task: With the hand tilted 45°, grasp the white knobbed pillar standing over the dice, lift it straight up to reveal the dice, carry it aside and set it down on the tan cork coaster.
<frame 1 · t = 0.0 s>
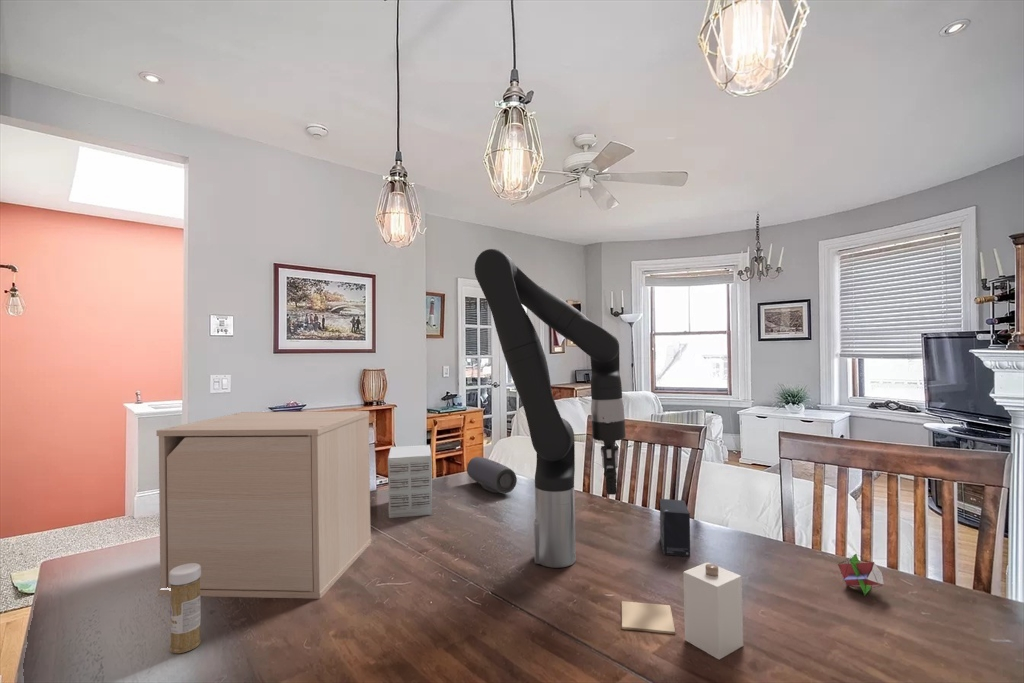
hand: (611, 488, 115), 17 cm above the table, tool pointing down, fingers open, 8 cm apart
sprinkles bottle: (186, 647, 85), on the table
cabinet: (276, 567, 117), on the table
bluetooth speaker: (491, 489, 177), on the table
geometric puzzle: (860, 591, 100), on the table
supplement box: (410, 508, 158), on the table
white knobbed pillar: (713, 642, 84), on the table
small box: (675, 548, 123), on the table
dice: (715, 643, 84), on the table
coaster: (646, 617, 92), on the table
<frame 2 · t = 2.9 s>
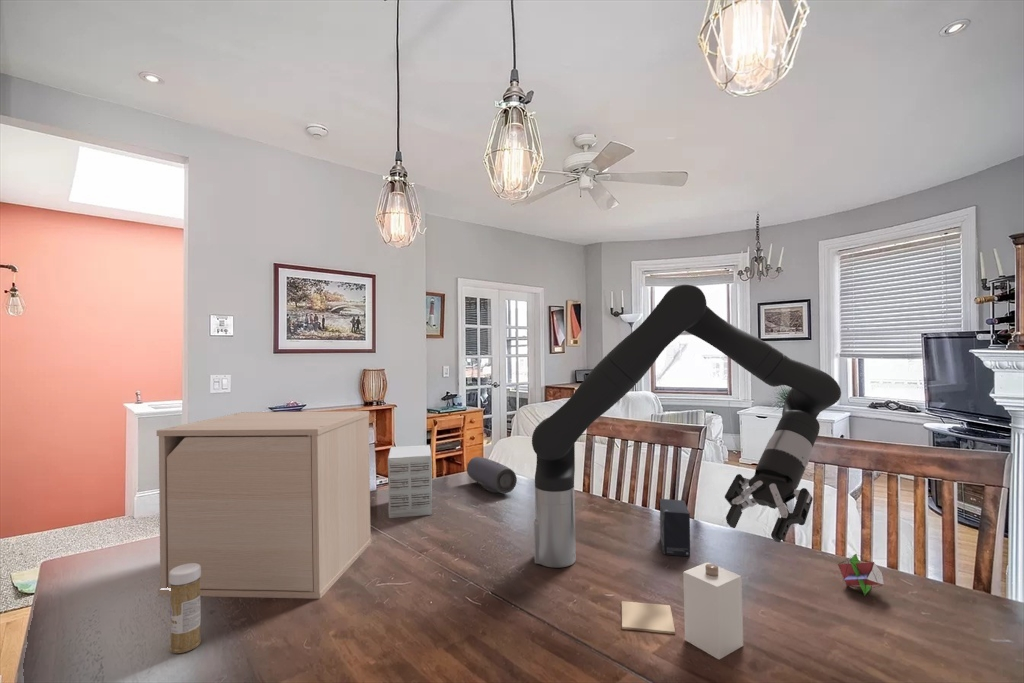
hand: (751, 532, 90), 16 cm above the table, tool tilted 45°, fingers open, 8 cm apart
nothing on the table moved.
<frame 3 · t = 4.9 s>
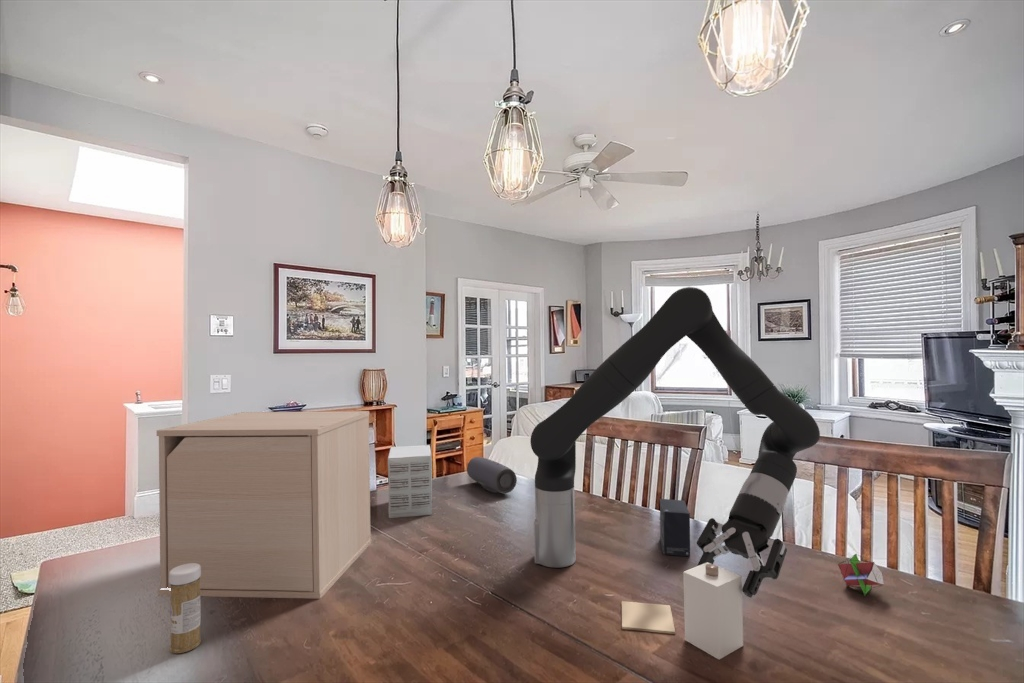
hand: (723, 584, 85), 9 cm above the table, tool tilted 45°, fingers open, 8 cm apart
nothing on the table moved.
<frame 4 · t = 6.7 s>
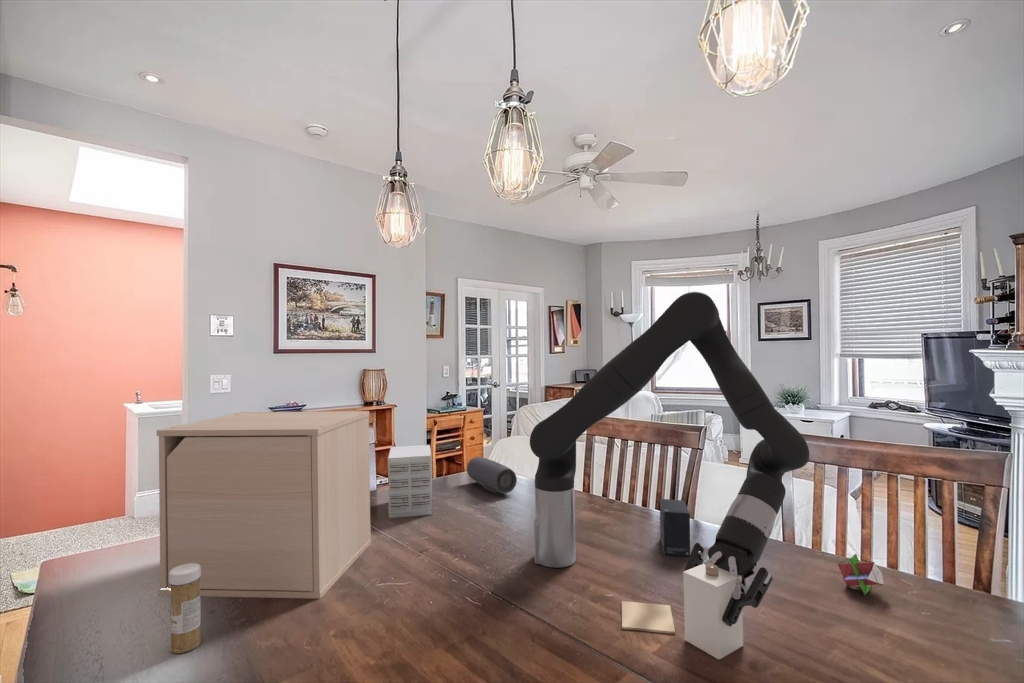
hand: (707, 613, 83), 5 cm above the table, tool tilted 45°, fingers closed on white knobbed pillar, 6 cm apart
white knobbed pillar: (713, 642, 83), on the table, touching gripper
everything else where it was.
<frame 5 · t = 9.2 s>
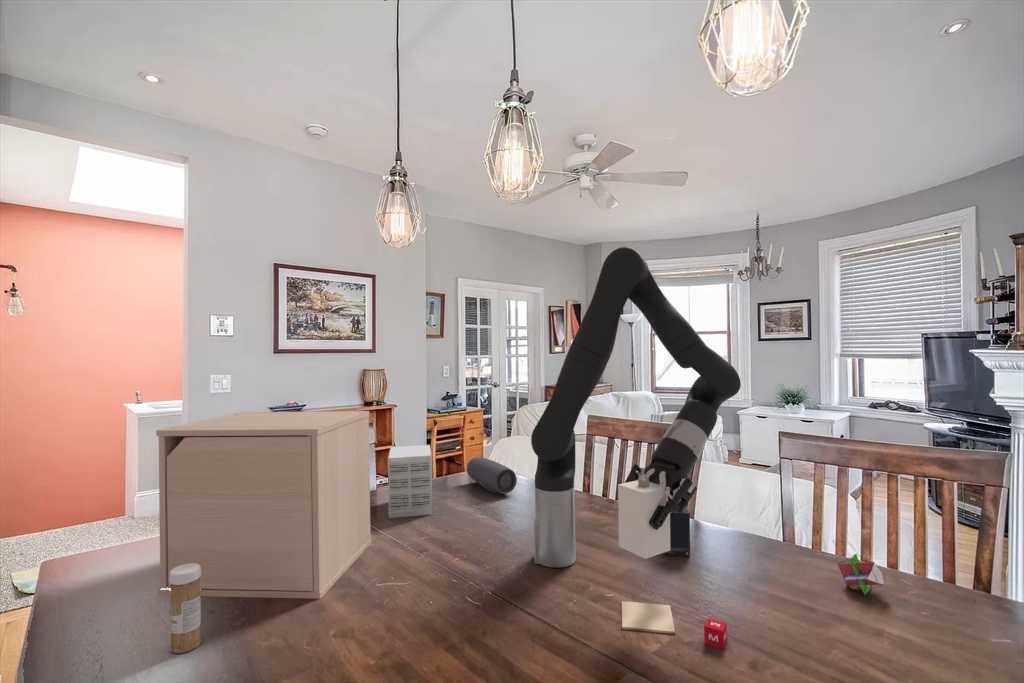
hand: (637, 520, 91), 18 cm above the table, tool tilted 45°, fingers closed on white knobbed pillar, 6 cm apart
white knobbed pillar: (644, 548, 92), point 13 cm above the table, touching gripper
everything else where it was.
when the fingers open (7 cm above the table, at t = 11.9 s): white knobbed pillar drops 2 cm, resting on coaster.
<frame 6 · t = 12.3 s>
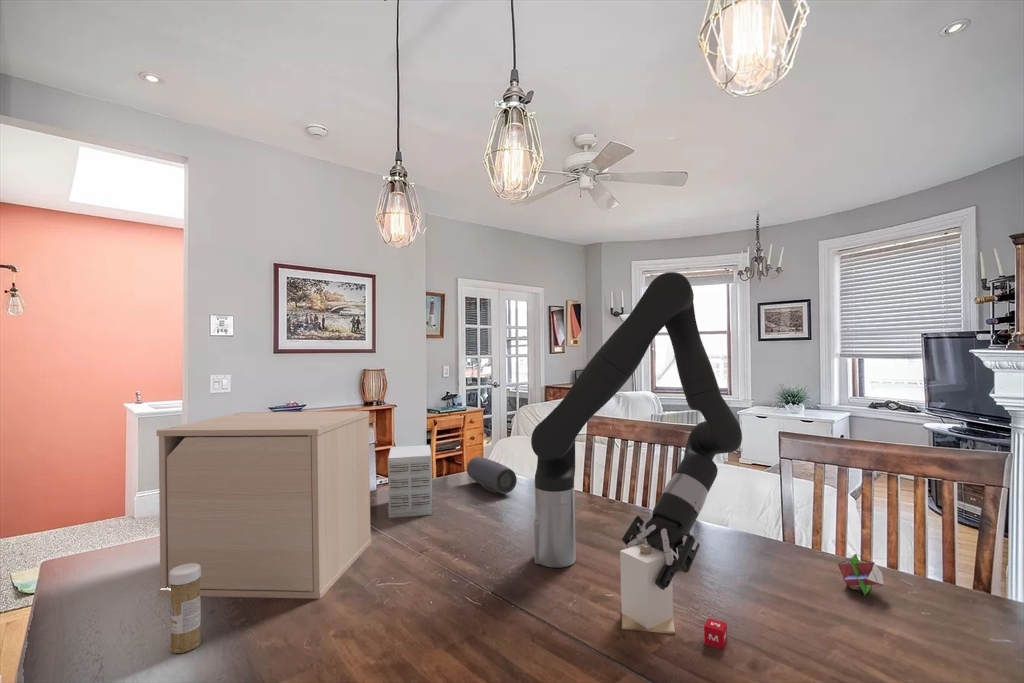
hand: (640, 577, 91), 8 cm above the table, tool tilted 45°, fingers open, 8 cm apart
white knobbed pillar: (647, 615, 92), resting on coaster
everything else where it was.
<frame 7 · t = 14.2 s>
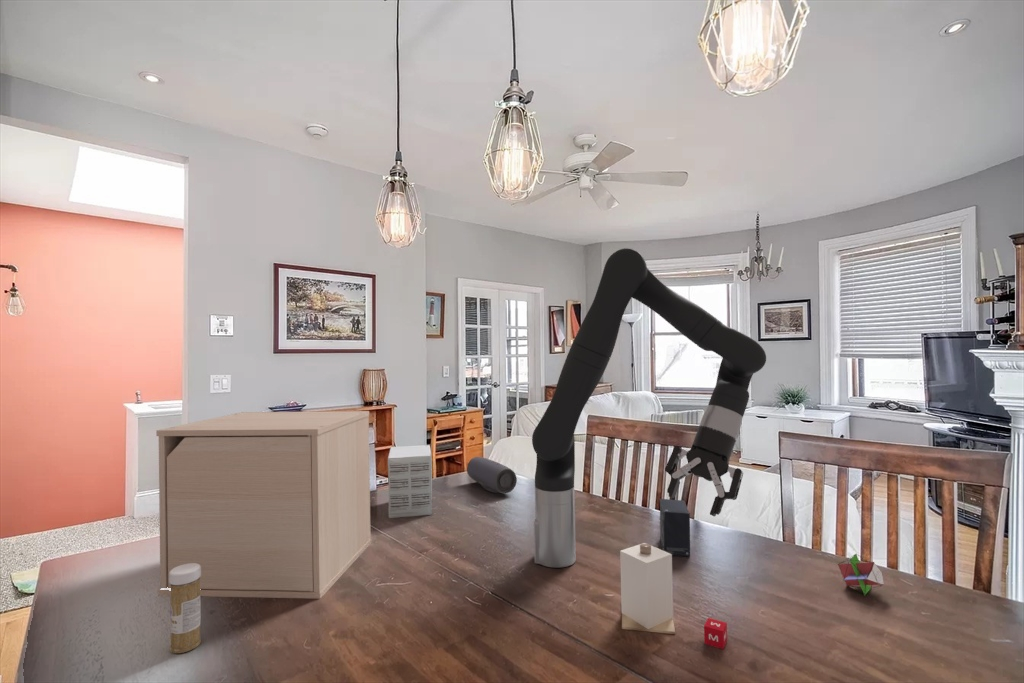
hand: (691, 506, 101), 17 cm above the table, tool tilted 25°, fingers open, 8 cm apart
nothing on the table moved.
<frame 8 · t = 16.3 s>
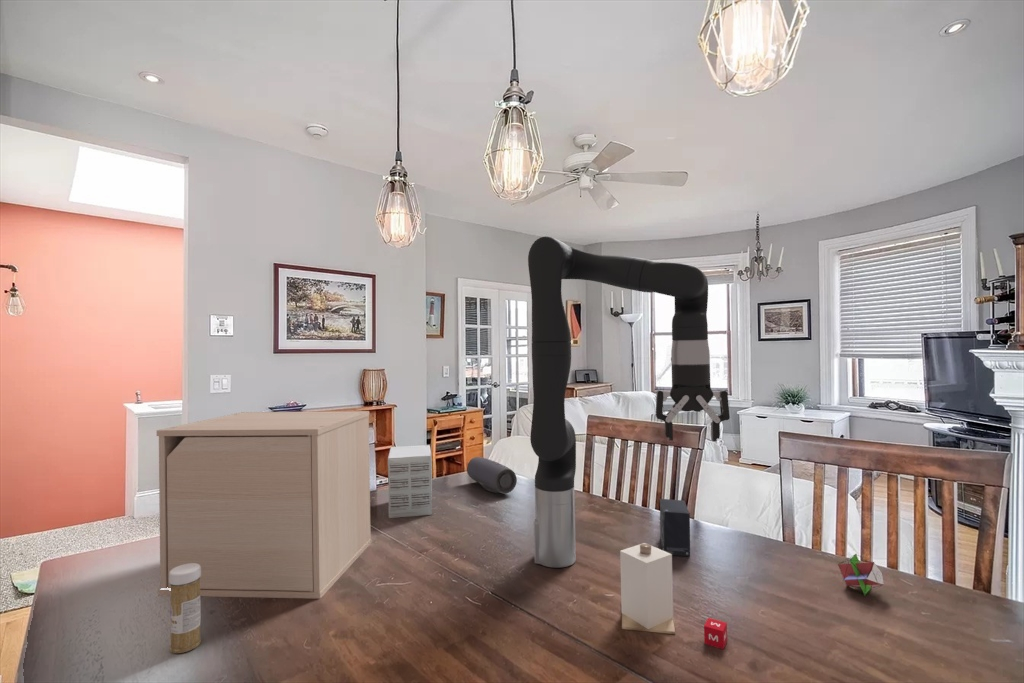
hand: (692, 440, 103), 30 cm above the table, tool pointing down, fingers open, 8 cm apart
nothing on the table moved.
at the end: white knobbed pillar inside the target area (0.1 cm from its centre), resting on coaster; white knobbed pillar tilted 0°; white knobbed pillar moved 12.1 cm from its start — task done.
